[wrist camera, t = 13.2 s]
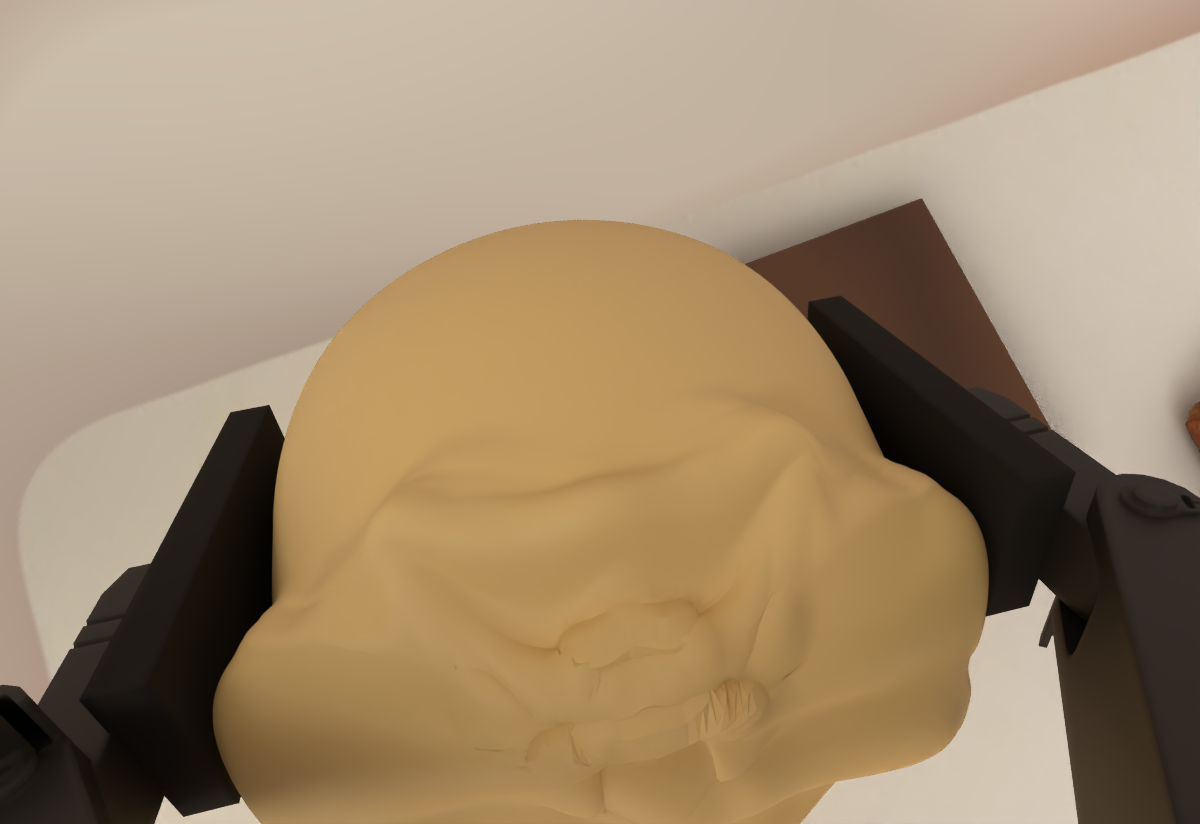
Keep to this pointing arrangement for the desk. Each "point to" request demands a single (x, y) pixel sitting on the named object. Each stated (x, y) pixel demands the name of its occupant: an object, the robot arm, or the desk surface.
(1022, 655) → the desk surface
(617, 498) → the sculpture
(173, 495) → the desk surface
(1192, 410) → the bread
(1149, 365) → the desk surface
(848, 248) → the cutting board
